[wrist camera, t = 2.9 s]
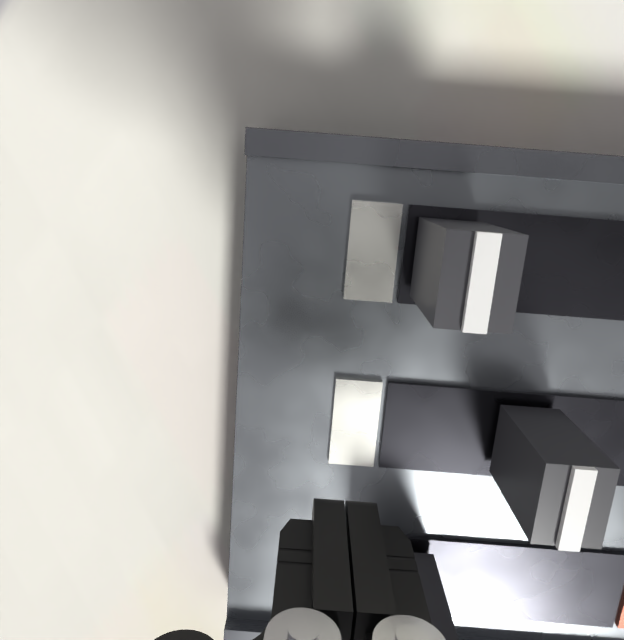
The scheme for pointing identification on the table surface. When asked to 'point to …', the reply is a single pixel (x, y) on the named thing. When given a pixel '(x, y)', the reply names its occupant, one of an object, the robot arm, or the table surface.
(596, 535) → the breaker
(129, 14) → the table surface
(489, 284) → the breaker
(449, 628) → the breaker
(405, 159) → the panel
